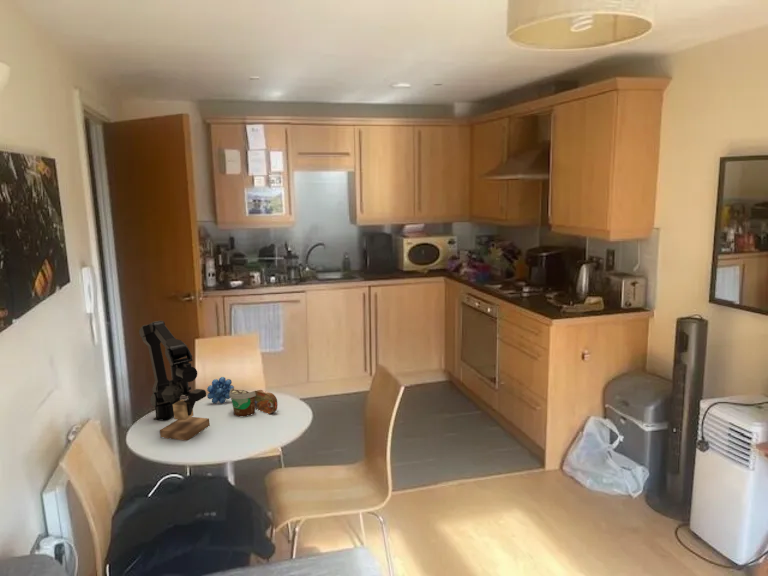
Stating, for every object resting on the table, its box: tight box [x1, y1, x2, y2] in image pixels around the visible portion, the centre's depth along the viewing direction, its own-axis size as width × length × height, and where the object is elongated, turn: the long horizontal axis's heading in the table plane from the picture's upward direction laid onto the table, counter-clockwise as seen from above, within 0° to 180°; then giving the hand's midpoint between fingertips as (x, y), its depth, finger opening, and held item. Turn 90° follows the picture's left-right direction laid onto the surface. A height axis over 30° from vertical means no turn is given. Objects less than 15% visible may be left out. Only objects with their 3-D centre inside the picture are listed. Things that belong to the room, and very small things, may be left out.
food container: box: [229, 387, 256, 417], centre depth 238 cm, size 12×6×10 cm, turn 62°
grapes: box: [206, 376, 235, 404], centre depth 252 cm, size 12×7×12 cm, turn 97°
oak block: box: [173, 399, 194, 420], centre depth 222 cm, size 5×5×6 cm
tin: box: [254, 389, 278, 415], centre depth 241 cm, size 15×3×8 cm, turn 48°
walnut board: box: [159, 416, 211, 442], centre depth 223 cm, size 12×14×3 cm
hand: (183, 414), depth 223 cm, fingers closed on oak block, 5 cm apart
